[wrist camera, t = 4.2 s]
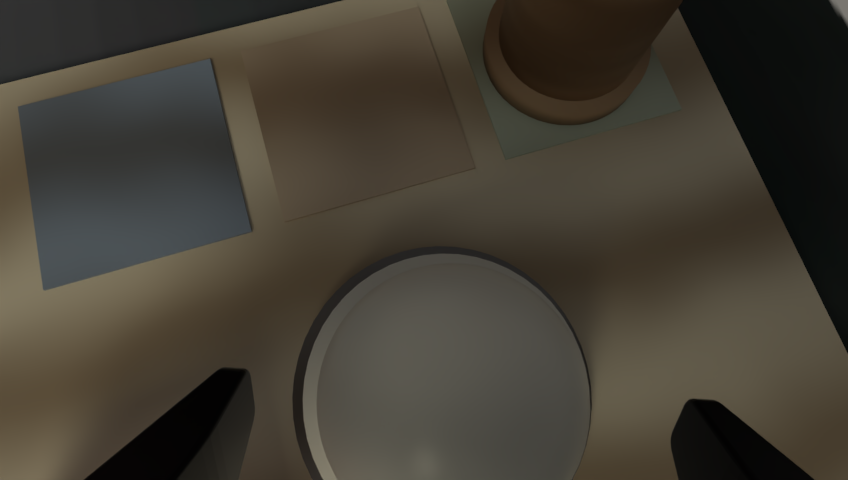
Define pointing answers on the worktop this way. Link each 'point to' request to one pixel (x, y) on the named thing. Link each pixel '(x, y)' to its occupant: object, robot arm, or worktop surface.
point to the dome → (446, 378)
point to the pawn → (571, 54)
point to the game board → (385, 236)
